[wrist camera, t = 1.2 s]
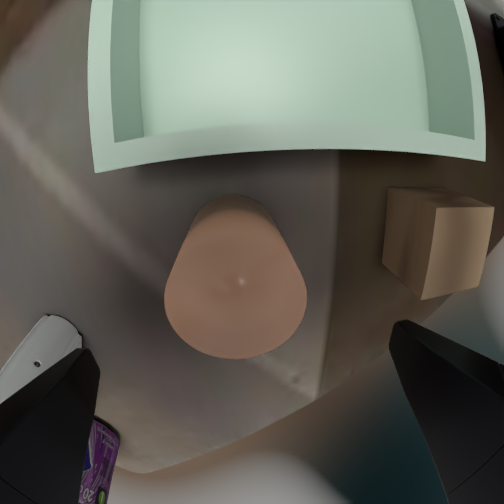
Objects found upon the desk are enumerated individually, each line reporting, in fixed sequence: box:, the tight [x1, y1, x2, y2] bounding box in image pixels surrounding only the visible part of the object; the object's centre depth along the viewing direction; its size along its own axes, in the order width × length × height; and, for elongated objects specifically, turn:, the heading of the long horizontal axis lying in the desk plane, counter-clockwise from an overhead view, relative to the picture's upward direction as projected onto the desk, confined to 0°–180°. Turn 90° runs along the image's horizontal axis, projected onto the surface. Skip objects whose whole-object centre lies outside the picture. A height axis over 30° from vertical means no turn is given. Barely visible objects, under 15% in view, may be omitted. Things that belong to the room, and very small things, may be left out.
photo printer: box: [0, 315, 82, 404], centre depth 13 cm, size 10×4×12 cm, turn 150°
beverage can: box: [79, 419, 120, 504], centre depth 18 cm, size 7×7×12 cm
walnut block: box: [382, 188, 494, 300], centre depth 15 cm, size 5×5×5 cm
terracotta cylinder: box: [164, 195, 307, 359], centre depth 13 cm, size 5×5×7 cm
